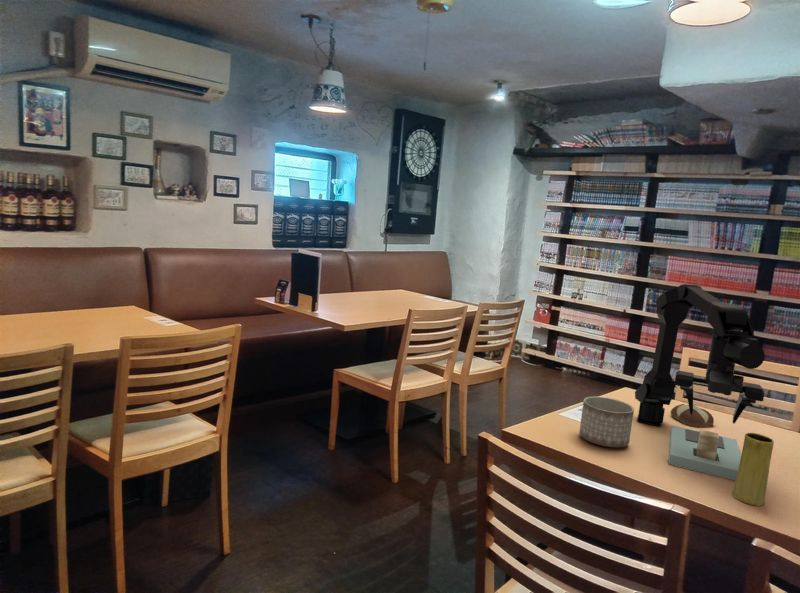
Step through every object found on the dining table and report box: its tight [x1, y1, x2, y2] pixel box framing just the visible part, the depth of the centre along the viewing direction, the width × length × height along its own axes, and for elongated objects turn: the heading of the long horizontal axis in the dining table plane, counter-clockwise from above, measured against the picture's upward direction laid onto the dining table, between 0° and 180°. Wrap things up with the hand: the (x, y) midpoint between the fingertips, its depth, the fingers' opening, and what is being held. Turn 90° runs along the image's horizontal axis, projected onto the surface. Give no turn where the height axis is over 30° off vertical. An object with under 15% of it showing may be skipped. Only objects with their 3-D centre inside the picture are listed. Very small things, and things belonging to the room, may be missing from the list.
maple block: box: [696, 429, 720, 461], centre depth 135 cm, size 4×4×8 cm
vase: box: [731, 432, 775, 507], centre depth 118 cm, size 6×6×14 cm
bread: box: [670, 403, 715, 428], centre depth 167 cm, size 11×11×5 cm
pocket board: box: [668, 424, 742, 481], centre depth 141 cm, size 16×24×3 cm, turn 152°
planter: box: [578, 395, 635, 448], centre depth 145 cm, size 13×13×10 cm
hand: (712, 418), depth 134 cm, fingers open, 9 cm apart
